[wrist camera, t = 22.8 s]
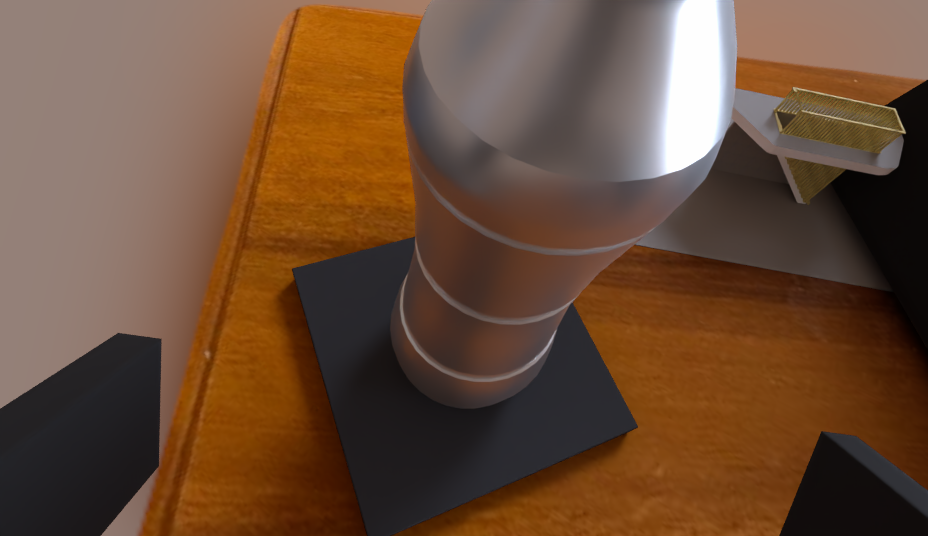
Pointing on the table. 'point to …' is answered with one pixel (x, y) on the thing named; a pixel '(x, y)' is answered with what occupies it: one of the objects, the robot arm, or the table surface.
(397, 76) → the table surface
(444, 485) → the rubber mat
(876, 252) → the device stand
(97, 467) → the robot arm
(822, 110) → the platform
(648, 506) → the table surface
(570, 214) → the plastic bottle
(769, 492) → the table surface
